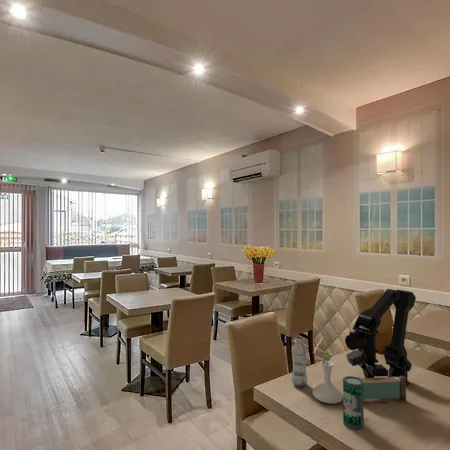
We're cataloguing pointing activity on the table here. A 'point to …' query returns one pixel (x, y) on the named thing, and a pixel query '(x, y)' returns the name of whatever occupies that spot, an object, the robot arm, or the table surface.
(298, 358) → the plastic bottle
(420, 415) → the table surface
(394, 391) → the panel
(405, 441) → the table surface
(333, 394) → the flower in vase
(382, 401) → the gate frame
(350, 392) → the can
